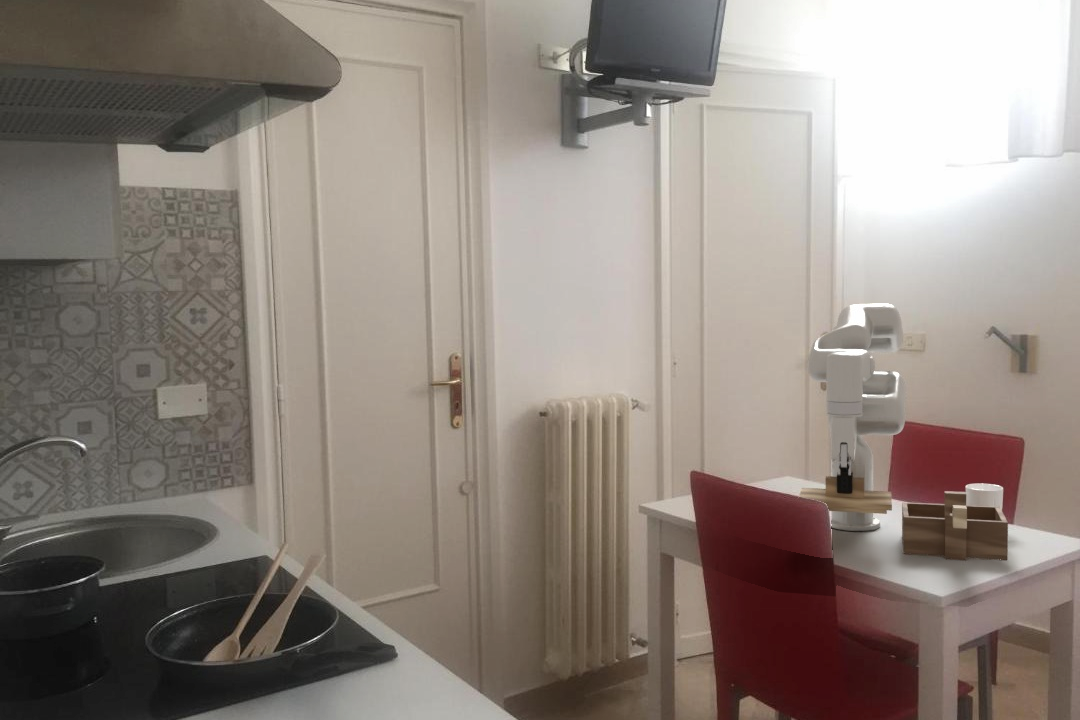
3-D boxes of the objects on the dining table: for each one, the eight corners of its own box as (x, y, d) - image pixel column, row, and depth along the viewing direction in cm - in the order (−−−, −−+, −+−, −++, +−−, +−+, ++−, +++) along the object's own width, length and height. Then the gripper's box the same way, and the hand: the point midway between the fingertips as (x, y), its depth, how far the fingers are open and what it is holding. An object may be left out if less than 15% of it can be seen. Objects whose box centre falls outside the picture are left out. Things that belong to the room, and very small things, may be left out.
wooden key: (950, 516, 191) (950, 497, 191) (962, 517, 191) (962, 498, 190) (953, 527, 183) (953, 507, 182) (966, 528, 182) (966, 508, 182)
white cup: (1010, 531, 214) (1011, 488, 213) (984, 535, 211) (984, 492, 210) (983, 523, 221) (984, 482, 220) (957, 527, 218) (957, 485, 218)
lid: (802, 497, 214) (801, 470, 214) (891, 501, 208) (891, 474, 207) (797, 510, 202) (797, 482, 202) (891, 515, 195) (891, 486, 195)
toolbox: (902, 536, 212) (902, 476, 211) (999, 542, 205) (999, 479, 204) (903, 556, 197) (903, 491, 196) (1008, 563, 190) (1009, 496, 189)
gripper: (828, 404, 212) (828, 483, 213) (824, 413, 197) (825, 498, 198) (863, 404, 210) (863, 485, 211) (862, 414, 194) (862, 500, 196)
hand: (844, 491), depth 205 cm, fingers closed on lid, 2 cm apart
